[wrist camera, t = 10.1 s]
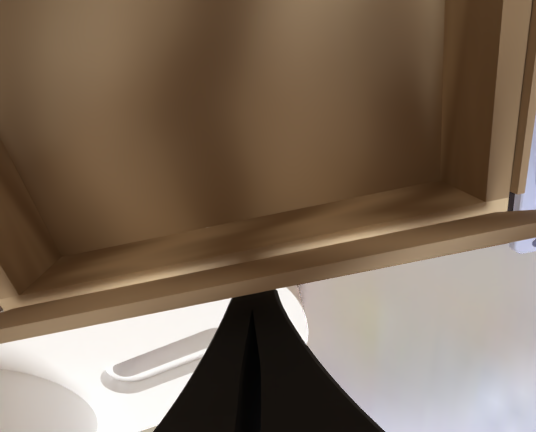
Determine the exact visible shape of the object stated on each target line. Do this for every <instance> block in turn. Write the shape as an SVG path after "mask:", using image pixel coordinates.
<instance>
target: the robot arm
mask: <svg viewBox="0 0 536 432" xmlns="http://www.w3.org/2000/svg"><path fill="white" fill-rule="evenodd" d="M521 210H536V115H535V122H534V130H533V137H532V144H531V151H530V158H529V166H528V173H527V180H526V187H525V193H523V194H518V195H517V194H515V199H514V207H513V211H521ZM534 239H535V238H531V239H526V240H521V241H516V242H511V243H509V246H510V248H511V249H513V250H514V251H516V252H518V253H529V252H534V251H536V239H535V240H534ZM533 240H534V241H533ZM153 432H385V431H384V430H383V429H382V428H381V427H380V426H379V425H378V424H377V423H376V422H374V421H373V420H372V419H371V418H370V417H369V416H368V415H367V414H366V413H365V412H364V411H363V410H362V409H361V408H360V407H359V406H358V405H357V404H356V403H355V402H354V401H353V400H352V399H351V398H350V396H349V395H348V394H347V393H346V392H345V391H344V390H343V389H342V388H341V387H340V386H339V384H338V383H337V382H336V381H335V380H334V379H333V378H332V376H331V375H330V374H329V373H328V372H327V371H326V369H325V368H324V367H323V366H322V364H321V363H320V362H319V361H318V359H317V358H316V357H315V355H314V354H313V353H312V351H311V350H310V349H309V347H308V346H307V345H306V343H305V342H304V340H303V339H302V338H301V336H300V334H299V333H298V331H297V330H296V328H295V327H294V325H293V324H292V322H291V320H290V319H289V317H288V315H287V313H286V311H285V309H284V307H283V305H282V303H281V301H280V298H279V295H278V291H277V290H276V289H274V290H269V291H264V292H259V293H254V294H249V295H244V296H239V297H234V298H232V299H231V300H230V303H229V305H228V307H227V310H226V312H225V314H224V316H223V318H222V321H221V323H220V325H219V327H218V329H217V331H216V333H215V335H214V337H213V339H212V340H211V342H210V344H209V346H208V348H207V350H206V352H205V354H204V355H203V357H202V359H201V361H200V362H199V364H198V366H197V367H196V369H195V371H194V372H193V374H192V376H191V377H190V379H189V381H188V382H187V384H186V385H185V387H184V389H183V390H182V392H181V393H180V395H179V396H178V398H177V399H176V401H175V402H174V404H173V405H172V406H171V408H170V409H169V411H168V412H167V414H166V415H165V416H164V418H163V419H162V421H161V422H160V423H159V425H158V426H157V427H156V429H155V430H154V431H153Z"/></svg>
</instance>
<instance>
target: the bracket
mask: <svg viewBox="0 0 536 432" xmlns="http://www.w3.org/2000/svg"><path fill="white" fill-rule="evenodd" d="M206 228H208V227H206ZM276 290H277V291H278V295H279V298H280V301H281V303H282V305H283V307H284V309H285V311H286V313H287V315H288V317H289V319H290V320H291V322H292V324H293V325H294V327H295V328H296V330H297V331H298V333H299V334H300V336H301V338H302V339H303V340H304V342H305V343H306V345H307V341H308V323H307V319H306V315H305V312H304V308H303V305H302V301H301V298H300V294H299V291H298V287H297V285H294V286H289V287H284V288H279V289H276ZM231 299H232V298H229V299H224V300H219V301H214V302H209V303H204V304H199V305H194V306H189V307H184V308H179V309H173V310H168V311H163V312H158V313H153V314H148V315H143V316H138V317H133V318H128V319H123V320H118V321H113V322H108V323H103V324H98V325H93V326H88V327H83V328H78V329H73V330H68V331H63V332H58V333H53V334H48V335H42V336H37V337H32V338H27V339H22V340H17V341H12V342H7V343H2V344H0V432H139V431H142V430H145V429H148V428H151V427H154V426H156V425H159V423H160V422H161V421H162V419H163V418H164V416H165V415H166V414H167V412H168V411H169V409H170V408H171V406H172V405H173V404H174V402H175V401H176V399H177V398H178V396H179V395H180V393H181V392H182V390H183V389H184V387H185V385H186V384H187V382H188V381H189V379H190V377H191V376H192V374H193V372H194V371H195V369H196V367H197V366H198V364H199V362H200V361H201V359H202V357H203V355H204V354H205V352H206V350H207V348H208V346H209V344H210V342H211V340H212V339H213V337H214V335H215V333H216V331H217V329H218V327H219V325H220V323H221V321H222V318H223V316H224V314H225V312H226V310H227V307H228V305H229V303H230V300H231ZM1 312H4V310H3V311H0V313H1Z"/></svg>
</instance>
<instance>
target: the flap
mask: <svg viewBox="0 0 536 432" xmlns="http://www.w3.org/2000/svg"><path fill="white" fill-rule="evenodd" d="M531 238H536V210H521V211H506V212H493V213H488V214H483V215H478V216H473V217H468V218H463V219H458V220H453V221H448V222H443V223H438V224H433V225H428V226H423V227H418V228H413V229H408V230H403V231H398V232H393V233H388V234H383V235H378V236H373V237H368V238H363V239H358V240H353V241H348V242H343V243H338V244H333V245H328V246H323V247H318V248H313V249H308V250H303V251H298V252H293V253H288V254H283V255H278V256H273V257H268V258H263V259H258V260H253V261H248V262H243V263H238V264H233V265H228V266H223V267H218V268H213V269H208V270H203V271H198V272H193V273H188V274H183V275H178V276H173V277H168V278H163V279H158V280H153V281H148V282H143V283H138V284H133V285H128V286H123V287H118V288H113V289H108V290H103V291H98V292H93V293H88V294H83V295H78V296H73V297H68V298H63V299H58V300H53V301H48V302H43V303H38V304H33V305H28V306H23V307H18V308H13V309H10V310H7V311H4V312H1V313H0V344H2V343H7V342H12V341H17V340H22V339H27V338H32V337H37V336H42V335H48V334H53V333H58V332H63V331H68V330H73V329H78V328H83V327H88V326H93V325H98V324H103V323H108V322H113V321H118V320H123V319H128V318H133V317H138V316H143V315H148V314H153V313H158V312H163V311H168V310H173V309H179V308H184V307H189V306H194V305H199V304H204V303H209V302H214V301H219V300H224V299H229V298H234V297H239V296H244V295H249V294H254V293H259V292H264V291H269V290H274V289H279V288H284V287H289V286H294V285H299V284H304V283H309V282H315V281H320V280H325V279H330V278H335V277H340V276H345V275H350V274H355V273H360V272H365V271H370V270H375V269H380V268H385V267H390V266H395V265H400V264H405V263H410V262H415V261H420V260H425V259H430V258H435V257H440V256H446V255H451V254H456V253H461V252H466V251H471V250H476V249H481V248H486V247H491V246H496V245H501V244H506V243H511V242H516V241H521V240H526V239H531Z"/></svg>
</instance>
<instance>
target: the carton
mask: <svg viewBox="0 0 536 432" xmlns="http://www.w3.org/2000/svg"><path fill="white" fill-rule="evenodd" d="M535 115H536V0H0V306H1V307H2V309H3V310H4V311H7V310H10V309H13V308H18V307H23V306H28V305H33V304H38V303H43V302H48V301H53V300H58V299H63V298H68V297H73V296H78V295H83V294H88V293H93V292H98V291H103V290H108V289H113V288H118V287H123V286H128V285H133V284H138V283H143V282H148V281H153V280H158V279H163V278H168V277H173V276H178V275H183V274H188V273H193V272H198V271H203V270H208V269H213V268H218V267H223V266H228V265H233V264H238V263H243V262H248V261H253V260H258V259H263V258H268V257H273V256H278V255H283V254H288V253H293V252H298V251H303V250H308V249H313V248H318V247H323V246H328V245H333V244H338V243H343V242H348V241H353V240H358V239H363V238H368V237H373V236H378V235H383V234H388V233H393V232H398V231H403V230H408V229H413V228H418V227H423V226H428V225H433V224H438V223H443V222H448V221H453V220H458V219H463V218H468V217H473V216H478V215H483V214H488V213H493V212H506V211H507V208H508V200H509V192H512V193H515V194H517V195H518V194H523V193H525V187H526V180H527V173H528V166H529V158H530V151H531V144H532V137H533V130H534V122H535ZM206 227H208V228H206Z"/></svg>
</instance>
